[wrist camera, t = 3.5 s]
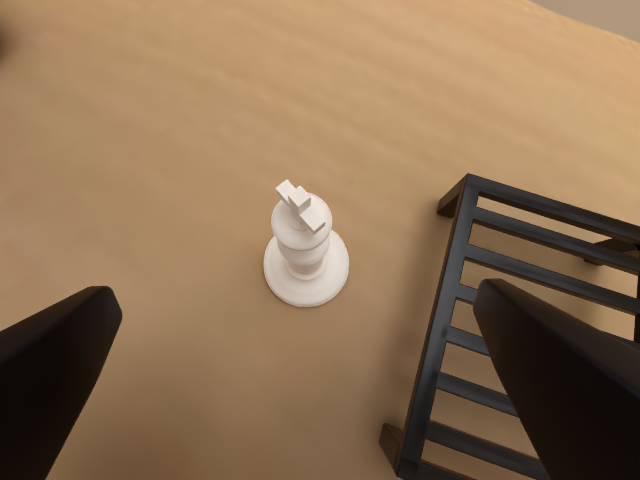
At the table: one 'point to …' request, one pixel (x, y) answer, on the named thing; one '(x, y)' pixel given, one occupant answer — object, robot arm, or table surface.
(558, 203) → the rack
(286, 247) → the chess piece
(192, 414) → the table surface
